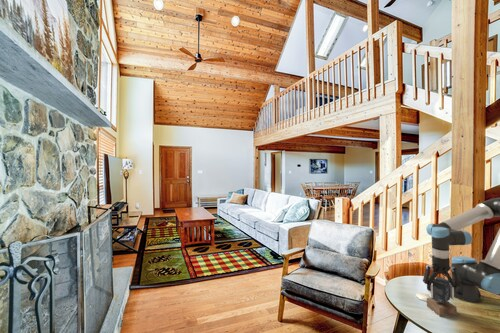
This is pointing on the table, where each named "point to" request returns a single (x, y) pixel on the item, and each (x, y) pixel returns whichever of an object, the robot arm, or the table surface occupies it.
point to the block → (442, 308)
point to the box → (441, 290)
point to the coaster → (423, 296)
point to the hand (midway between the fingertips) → (441, 297)
